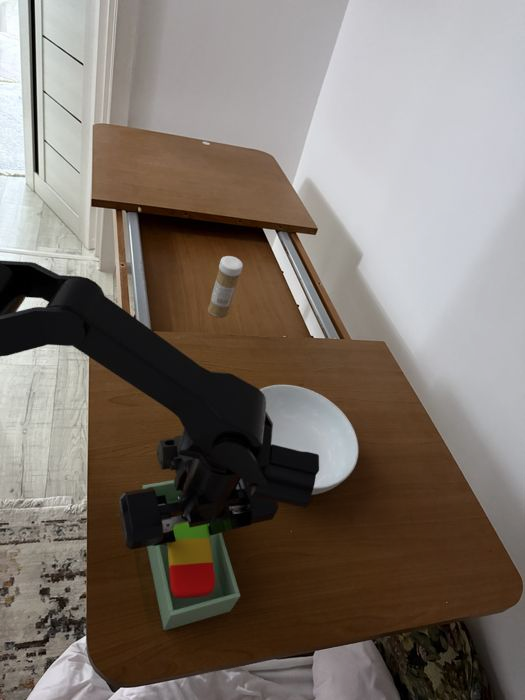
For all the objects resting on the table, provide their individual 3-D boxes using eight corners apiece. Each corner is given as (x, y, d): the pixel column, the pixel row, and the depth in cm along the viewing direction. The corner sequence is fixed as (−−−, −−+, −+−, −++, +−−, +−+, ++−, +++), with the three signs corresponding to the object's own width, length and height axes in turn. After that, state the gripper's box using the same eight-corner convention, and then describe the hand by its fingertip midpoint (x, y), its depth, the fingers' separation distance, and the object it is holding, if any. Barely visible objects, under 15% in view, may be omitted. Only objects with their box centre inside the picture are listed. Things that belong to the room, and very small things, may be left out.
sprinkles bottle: (230, 310, 111) (246, 260, 102) (223, 321, 108) (239, 271, 99) (211, 302, 111) (225, 252, 102) (204, 313, 108) (217, 262, 99)
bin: (230, 611, 67) (240, 596, 63) (163, 631, 63) (170, 616, 59) (197, 493, 78) (204, 474, 74) (138, 504, 74) (142, 485, 70)
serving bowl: (357, 445, 94) (373, 423, 89) (318, 534, 79) (335, 513, 74) (261, 389, 97) (272, 365, 92) (206, 465, 82) (215, 440, 77)
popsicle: (170, 601, 61) (172, 595, 60) (163, 489, 71) (165, 482, 70) (214, 596, 63) (217, 591, 62) (201, 488, 73) (203, 482, 72)
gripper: (265, 409, 65) (235, 472, 76) (117, 425, 57) (106, 494, 68) (297, 485, 58) (259, 543, 69) (134, 515, 50) (120, 577, 61)
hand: (188, 536), depth 67 cm, fingers closed on popsicle, 6 cm apart
